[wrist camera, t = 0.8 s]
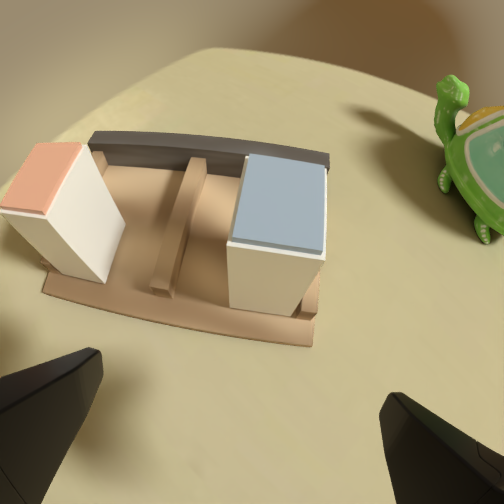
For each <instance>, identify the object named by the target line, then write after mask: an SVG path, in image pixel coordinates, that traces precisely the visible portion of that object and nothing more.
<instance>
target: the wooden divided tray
mask: <svg viewBox="0 0 504 504" xmlns="http://www.w3.org/2000/svg"><path fill="white" fill-rule="evenodd" d="M87 144H88V146H89V148H90V150H91V152H92V154H91V155H92V157H93V160H94V162H95V164H96V166H97V168H98V170H99V172H100V174H101V176H102V179H103V181H104V183H105V185H106V187H107V189H108V191H109V193H110V195H111V197H112V199H113V201H114V203H115V204H116V206H117V208H118V210H119V212H120V214H121V216H122V218H123V220H124V222H125V223H126V225H125V228H124V230H123V233H122V236H121V239H120V241H119V244H118V247H117V250H116V253H115V256H114V259H113V262H112V265H111V268H110V271H109V274H108V277H107V280H106V283H105V284H103V283H98V282H94V281H89V280H85V279H81V278H77V277H72V276H68V275H64V274H62V273H61V272H60V271H59V270H57V269H56V268H55V267H54V266H53V265H52V264H51V263H50V262H49V261H48V260H46V259H45V258H44V257H43V256H42V259H41V261H40V263H41V264H43V265H44V266H45V267H46V268H47V269H48V270H49V274H48V276H47V279H46V282H45V285H44V288H43V291H42V292H44V293H45V294H47V295H50V296H54V297H57V298H60V299H64V300H67V301H71V302H74V303H78V304H82V305H85V306H89V307H93V308H97V309H101V310H105V311H109V312H113V313H117V314H121V315H125V316H129V317H133V318H138V319H142V320H147V321H151V322H156V323H161V324H165V325H170V326H175V327H180V328H185V329H191V330H196V331H201V332H207V333H212V334H218V335H224V336H230V337H237V338H243V339H250V340H256V341H263V342H271V343H278V344H286V345H294V346H303V347H312V345H313V335H314V323H315V315H316V314H317V311H318V297H319V281H320V270H319V272H318V273H317V275H316V277H315V278H314V280H313V282H312V283H311V285H310V286H309V288H308V290H307V291H306V293H305V294H304V296H303V298H302V299H301V301H300V302H299V304H298V305H297V307H296V308H295V310H294V312H293V313H292V315H291V316H284V315H276V314H269V313H262V312H256V311H249V310H242V309H236V308H230V305H229V287H228V268H227V247H226V245H227V240H228V235H229V231H230V226H231V221H232V216H233V212H234V207H235V202H236V198H237V193H238V188H239V184H240V179H241V175H242V170H243V166H244V161H245V157H246V156H249V154H257V155H264V156H271V157H278V158H284V159H290V160H296V161H302V162H308V163H313V164H319V165H324V166H325V169H327V174H328V171H329V168H330V162H329V153H323V152H318V151H313V150H307V149H302V148H296V147H290V146H283V145H277V144H270V143H263V142H256V141H248V140H240V139H232V138H223V137H213V136H202V135H190V134H177V133H160V132H136V131H95V132H94V134H93V135H92V137H91V138H90V140H89V141H88V143H87Z"/></svg>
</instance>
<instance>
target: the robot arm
mask: <svg viewBox="0 0 504 504" xmlns="http://www.w3.org/2000/svg"><path fill="white" fill-rule="evenodd" d="M102 378H103V363H102V354H101V352H100V351H99V350H97V349H94V348H90V347H88V348H85V349H82V350H79V351H76V352H74V353H71V354H68V355H65V356H62V357H59V358H56V359H54V360H51V361H48V362H45V363H42V364H39V365H36V366H33V367H30V368H27V369H24V370H21V371H18V372H15V373H12V374H9V375H6V376H3V377H1V378H0V504H41V503H42V501H43V498H44V496H45V494H46V492H47V490H48V488H49V486H50V484H51V482H52V480H53V478H54V476H55V474H56V472H57V470H58V468H59V467H60V465H61V463H62V461H63V459H64V457H65V455H66V453H67V451H68V449H69V448H70V446H71V444H72V442H73V440H74V438H75V436H76V435H77V433H78V431H79V429H80V427H81V425H82V424H83V422H84V420H85V418H86V416H87V414H88V412H89V410H90V407H91V405H92V402H93V400H94V397H95V395H96V393H97V390H98V388H99V385H100V383H101V381H102ZM379 420H380V426H381V433H382V440H383V447H384V453H385V458H386V462H387V466H388V470H389V474H390V478H391V482H392V487H393V491H394V495H395V500H396V504H504V456H502V455H500V454H498V453H496V452H495V451H493V450H491V449H489V448H488V447H486V446H484V445H483V444H481V443H480V442H478V441H477V442H476V440H475V439H473V438H472V437H470V436H468V435H467V434H465V433H464V432H462V431H460V430H459V429H457V428H456V427H454V426H453V425H451V424H449V423H448V422H446V421H445V420H443V419H442V418H440V417H439V416H437V415H436V414H434V413H432V412H431V411H429V410H428V409H426V408H425V407H423V406H422V405H420V404H419V403H417V402H416V401H414V400H413V399H411V398H410V397H408V396H407V395H405V394H404V393H402V392H391V393H390V394H389V395H388V396H387V398H386V400H385V402H384V404H383V406H382V408H381V410H380V413H379Z"/></svg>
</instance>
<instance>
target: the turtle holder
mask: <svg viewBox="0 0 504 504" xmlns="http://www.w3.org/2000/svg"><path fill="white" fill-rule="evenodd" d="M436 88H437V94H438V103H437V106H436V109H435V117H434V126H435V128H436V133H437V135H438V136H439V138H440V140H441V141H442V143H443V144H444V147H445V161H446V166H445V167H444V168H443V170H442V171H441V173H440V175H439V176H438V186H439V188H440V189H441V191H442V192H444V193H447V192H448V191H449V189H450V186H451V182H452V180H453V181H454V183H455V185H456V187H457V189H458V190H459V192H460V193H461V195H462V196H463V198H464V199H465V201H466V202H467V203H468V205H469V206H470V207H471V208H472V210H473V211H474V212H475V213H476V214H477V216H476V217H475V220H474V227H475V230H476V233H477V235H478V236H479V238H480V239H481V241H482V242H483V243H485V244H489V243H490V231H489V228H490V227H491V228H493V229H494V230H495V231H497V232H499V233H500V234H502V235H503V236H504V106H495V107H484V108H482V109H480V110H478V111H476V112H474V113H473V114H471V115H470V116H469V117H468V118H467V119H466V120H465V121H464V122H463V124H461V125H459V126H458V127H457V129H456V128H455V117H456V115H457V113H458V111H459V110H461V109H463V108H464V107H466V106H467V104H468V98H469V88H468V86H467V85H466V84H465V83H463V82H461V81H459V80H458V79H457V78H456V77H455V76H454V75H448V76H446V77H445V78H444V79H443V80H442V81H441V82H438V83H437V84H436Z"/></svg>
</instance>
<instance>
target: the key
mask: <svg viewBox="0 0 504 504" xmlns="http://www.w3.org/2000/svg"><path fill="white" fill-rule="evenodd" d="M0 207H1V208H2V209H1V211H0V213H1V214H2V216H3V217H4V218H5V219H6V220H7V221H8V222H9V223H10V224H11V225H12V226H13V227H14V228H15V229H16V230H17V231H18V232H19V233H20V234H21V235H22V236H23V237H24V238H25V239H26V240H27V241H28V242H29V243H30V244H31V245H32V246H33V247H34V248H35V249H36V250H37V251H38V252H39V253H40V254H41V255H42V256H43V257H44V258H45V259H46V260H48V261H49V262H50V263H51V264H52V265H53V266H54V267H55V268H56V269H57V270H59V271H60V272H61V273H62V274H64V275H68V276H72V277H77V278H81V279H85V280H89V281H94V282H98V283H103V284H105V283H106V280H107V277H108V274H109V271H110V268H111V265H112V262H113V259H114V256H115V253H116V250H117V247H118V244H119V241H120V239H121V236H122V233H123V230H124V228H125V225H126V223H125V222H124V220H123V218H122V216H121V214H120V212H119V210H118V208H117V206H116V204H115V203H114V201H113V199H112V197H111V195H110V193H109V191H108V189H107V187H106V185H105V183H104V181H103V179H102V176H101V174H100V172H99V170H98V168H97V166H96V164H95V162H94V160H93V157H92V155H91V153H90V151H89V149H88V147H87V145H81V143H80V142H64V143H37V144H36V145H35V146H34V148H33V149H32V151H31V152H30V154H29V156H28V157H27V159H26V160H25V162H24V164H23V165H22V167H21V168H20V170H19V172H18V173H17V175H16V177H15V178H14V180H13V182H12V184H11V185H10V187H9V189H8V191H7V193H6V194H5V196H4V198H3V200H2V202H1V204H0Z"/></svg>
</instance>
